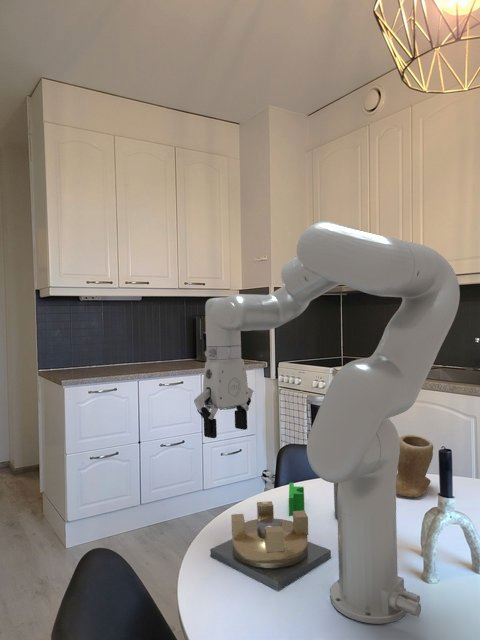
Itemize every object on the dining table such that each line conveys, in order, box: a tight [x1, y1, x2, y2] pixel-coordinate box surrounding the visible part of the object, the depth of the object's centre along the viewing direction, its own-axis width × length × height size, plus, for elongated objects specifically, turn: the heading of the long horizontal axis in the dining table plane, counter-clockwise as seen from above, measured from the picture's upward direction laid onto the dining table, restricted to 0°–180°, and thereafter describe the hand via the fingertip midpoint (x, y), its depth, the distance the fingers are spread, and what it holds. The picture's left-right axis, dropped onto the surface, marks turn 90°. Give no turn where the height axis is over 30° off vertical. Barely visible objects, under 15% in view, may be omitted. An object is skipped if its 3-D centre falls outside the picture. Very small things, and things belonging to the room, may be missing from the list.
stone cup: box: [396, 434, 434, 498], centre depth 130 cm, size 15×12×15 cm
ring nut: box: [231, 500, 309, 568], centre depth 95 cm, size 15×15×7 cm
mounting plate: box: [209, 539, 332, 592], centre depth 95 cm, size 18×16×2 cm
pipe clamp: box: [288, 482, 305, 517], centre depth 120 cm, size 11×4×5 cm, turn 173°
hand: (226, 432), depth 103 cm, fingers open, 9 cm apart
